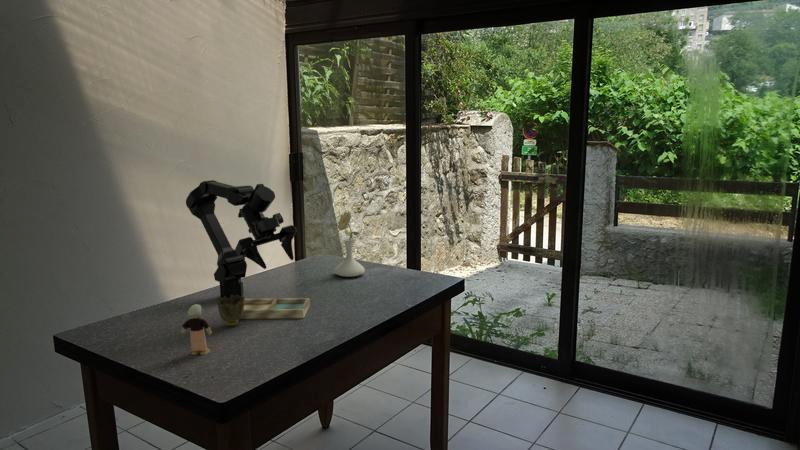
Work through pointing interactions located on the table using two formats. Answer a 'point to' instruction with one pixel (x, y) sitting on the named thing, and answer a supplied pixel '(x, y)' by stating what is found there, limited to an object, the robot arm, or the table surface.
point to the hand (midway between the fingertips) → (279, 263)
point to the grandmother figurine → (197, 330)
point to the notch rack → (275, 308)
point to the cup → (231, 309)
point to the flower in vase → (348, 251)
